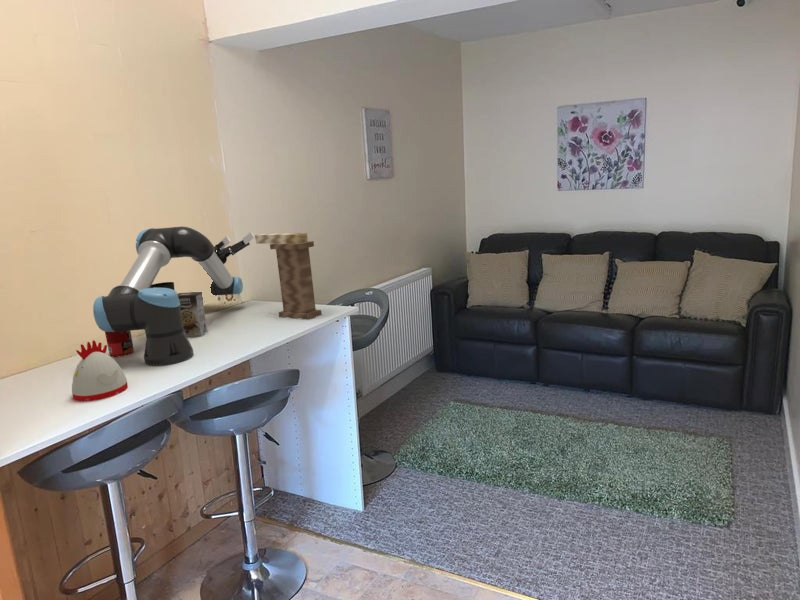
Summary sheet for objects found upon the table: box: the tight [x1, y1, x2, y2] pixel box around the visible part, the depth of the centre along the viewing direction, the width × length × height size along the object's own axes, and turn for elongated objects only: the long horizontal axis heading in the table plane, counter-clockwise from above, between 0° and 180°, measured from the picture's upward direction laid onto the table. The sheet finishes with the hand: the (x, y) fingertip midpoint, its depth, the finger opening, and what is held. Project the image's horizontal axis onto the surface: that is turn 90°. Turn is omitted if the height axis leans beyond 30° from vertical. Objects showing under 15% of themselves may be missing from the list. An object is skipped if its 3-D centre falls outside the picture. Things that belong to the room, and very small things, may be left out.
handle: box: [254, 232, 309, 245], centre depth 235 cm, size 24×6×4 cm, turn 58°
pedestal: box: [269, 240, 322, 320], centre depth 235 cm, size 16×8×30 cm, turn 58°
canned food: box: [104, 330, 135, 358], centre depth 202 cm, size 8×8×11 cm
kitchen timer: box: [71, 339, 128, 402], centre depth 163 cm, size 14×14×15 cm
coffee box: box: [177, 291, 208, 338], centre depth 219 cm, size 9×6×16 cm
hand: (240, 236), depth 247 cm, fingers open, 13 cm apart
